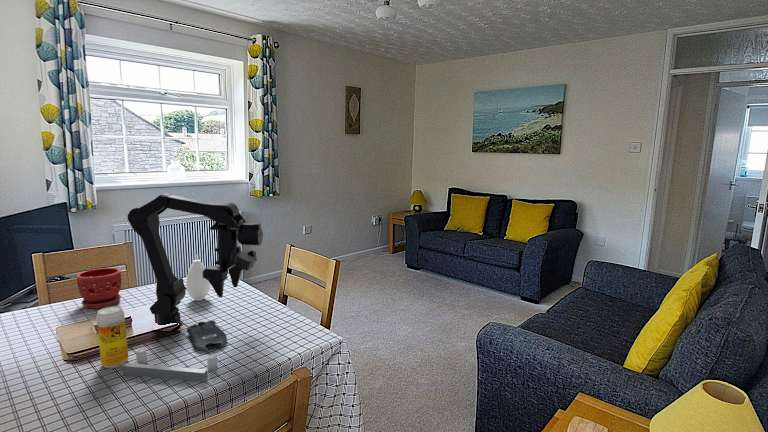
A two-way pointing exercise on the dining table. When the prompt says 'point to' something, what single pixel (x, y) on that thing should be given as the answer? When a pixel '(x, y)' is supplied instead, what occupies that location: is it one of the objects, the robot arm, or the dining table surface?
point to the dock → (168, 369)
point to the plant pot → (99, 287)
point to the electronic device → (206, 335)
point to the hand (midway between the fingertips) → (228, 291)
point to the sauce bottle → (197, 281)
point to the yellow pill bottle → (112, 336)
